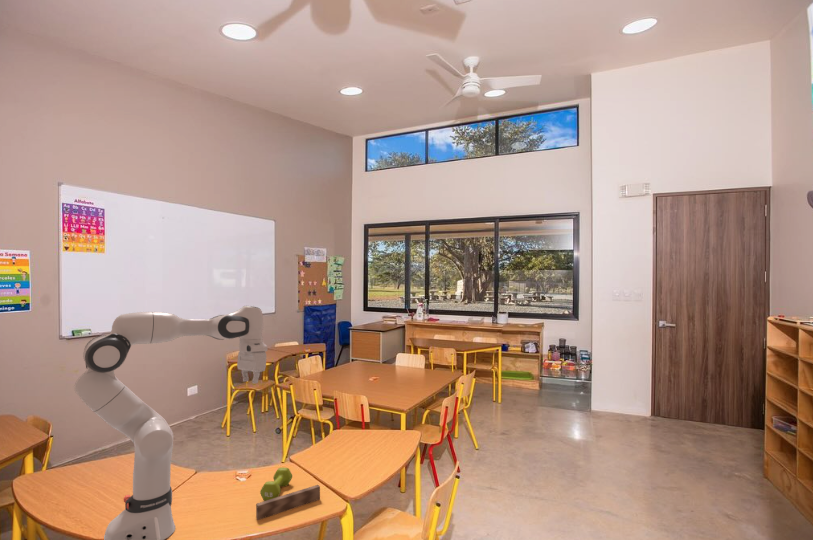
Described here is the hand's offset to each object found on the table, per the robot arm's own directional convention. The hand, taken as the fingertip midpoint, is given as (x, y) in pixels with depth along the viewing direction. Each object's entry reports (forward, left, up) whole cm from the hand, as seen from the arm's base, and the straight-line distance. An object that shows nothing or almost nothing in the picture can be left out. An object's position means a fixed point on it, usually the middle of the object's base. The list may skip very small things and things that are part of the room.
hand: (250, 382), depth 163 cm
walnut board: (+11, -13, -47) cm, 50 cm away
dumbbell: (+11, +2, -47) cm, 49 cm away
